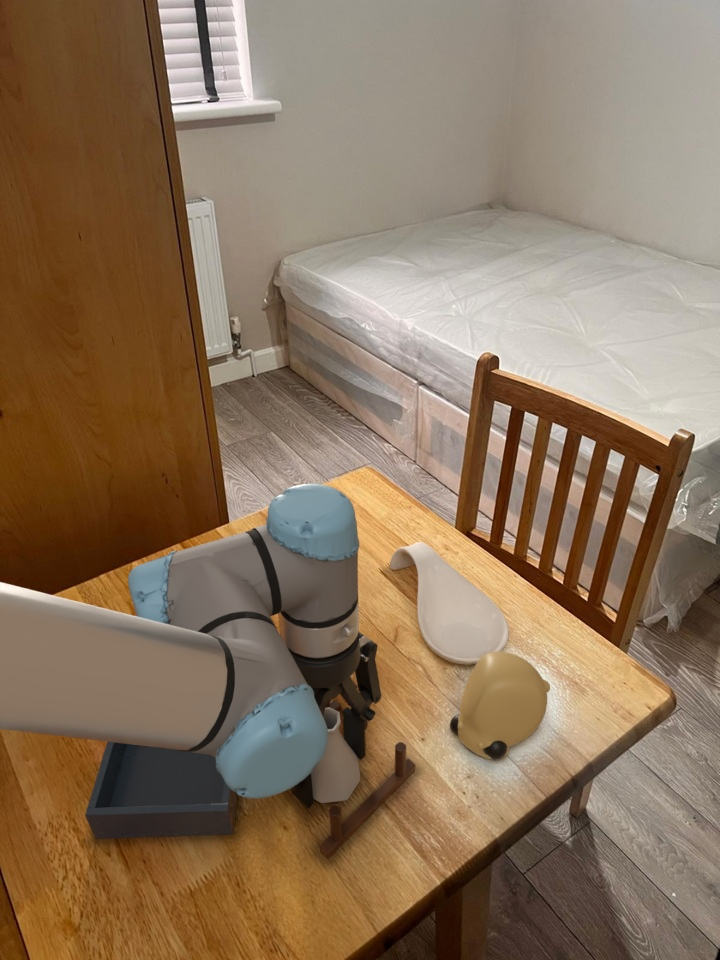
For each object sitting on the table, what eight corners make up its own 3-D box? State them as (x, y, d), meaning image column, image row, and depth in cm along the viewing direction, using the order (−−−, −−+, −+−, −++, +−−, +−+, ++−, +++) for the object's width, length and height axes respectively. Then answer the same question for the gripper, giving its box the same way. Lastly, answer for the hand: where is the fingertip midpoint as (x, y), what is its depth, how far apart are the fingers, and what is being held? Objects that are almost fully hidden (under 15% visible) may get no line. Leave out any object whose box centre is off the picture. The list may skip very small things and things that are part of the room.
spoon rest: (523, 659, 96) (530, 620, 92) (446, 691, 92) (449, 652, 88) (434, 554, 114) (436, 517, 110) (366, 577, 110) (365, 540, 106)
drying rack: (327, 860, 75) (324, 828, 72) (246, 780, 83) (240, 748, 79) (415, 770, 83) (416, 738, 80) (334, 705, 91) (332, 673, 87)
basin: (232, 834, 77) (227, 810, 75) (95, 839, 77) (84, 815, 75) (247, 719, 89) (243, 694, 87) (128, 723, 89) (120, 698, 87)
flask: (307, 742, 86) (301, 687, 81) (367, 753, 85) (366, 697, 79) (289, 798, 80) (283, 742, 75) (354, 810, 79) (352, 754, 74)
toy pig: (463, 723, 92) (420, 723, 84) (507, 640, 92) (468, 632, 84) (526, 773, 86) (486, 778, 78) (575, 684, 86) (539, 680, 77)
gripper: (263, 720, 61) (283, 862, 74) (419, 596, 73) (413, 737, 86) (209, 672, 66) (237, 814, 79) (365, 562, 78) (367, 701, 91)
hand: (329, 773), depth 83 cm, fingers closed on flask, 7 cm apart
